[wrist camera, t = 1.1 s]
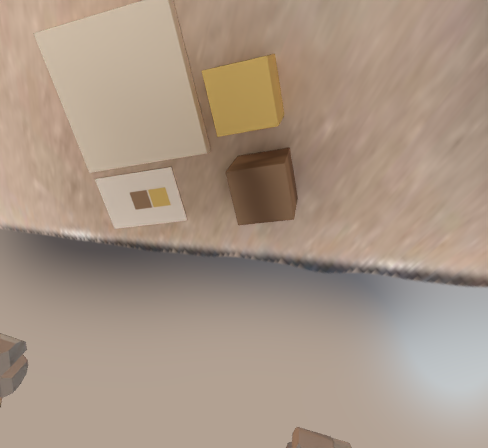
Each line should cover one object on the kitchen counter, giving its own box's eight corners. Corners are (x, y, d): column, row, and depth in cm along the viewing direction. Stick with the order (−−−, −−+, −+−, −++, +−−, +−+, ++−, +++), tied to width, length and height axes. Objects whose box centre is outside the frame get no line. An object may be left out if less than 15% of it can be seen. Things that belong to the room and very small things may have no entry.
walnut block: (289, 147, 33) (284, 163, 29) (297, 197, 35) (294, 219, 31) (237, 155, 34) (225, 172, 30) (248, 203, 36) (238, 225, 32)
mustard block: (274, 53, 30) (266, 55, 26) (284, 114, 32) (278, 126, 28) (218, 66, 31) (201, 70, 27) (231, 124, 33) (217, 137, 29)
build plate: (171, -5, 29) (166, -7, 28) (210, 150, 35) (207, 153, 34) (42, 33, 33) (33, 33, 32) (95, 169, 38) (89, 173, 37)
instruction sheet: (171, 166, 36) (170, 167, 36) (187, 220, 39) (186, 220, 38) (95, 178, 39) (94, 179, 38) (114, 228, 41) (114, 229, 41)
